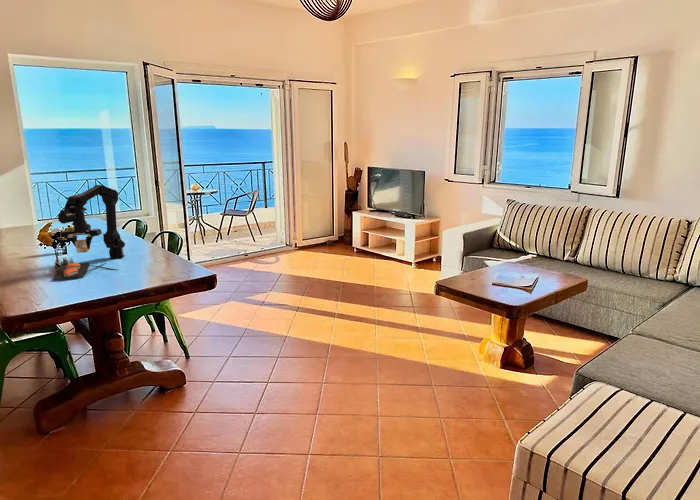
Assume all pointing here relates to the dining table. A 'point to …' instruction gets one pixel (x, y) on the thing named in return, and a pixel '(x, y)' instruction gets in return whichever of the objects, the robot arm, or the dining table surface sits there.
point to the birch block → (81, 246)
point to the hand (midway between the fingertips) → (83, 249)
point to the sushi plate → (74, 270)
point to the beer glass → (57, 230)
